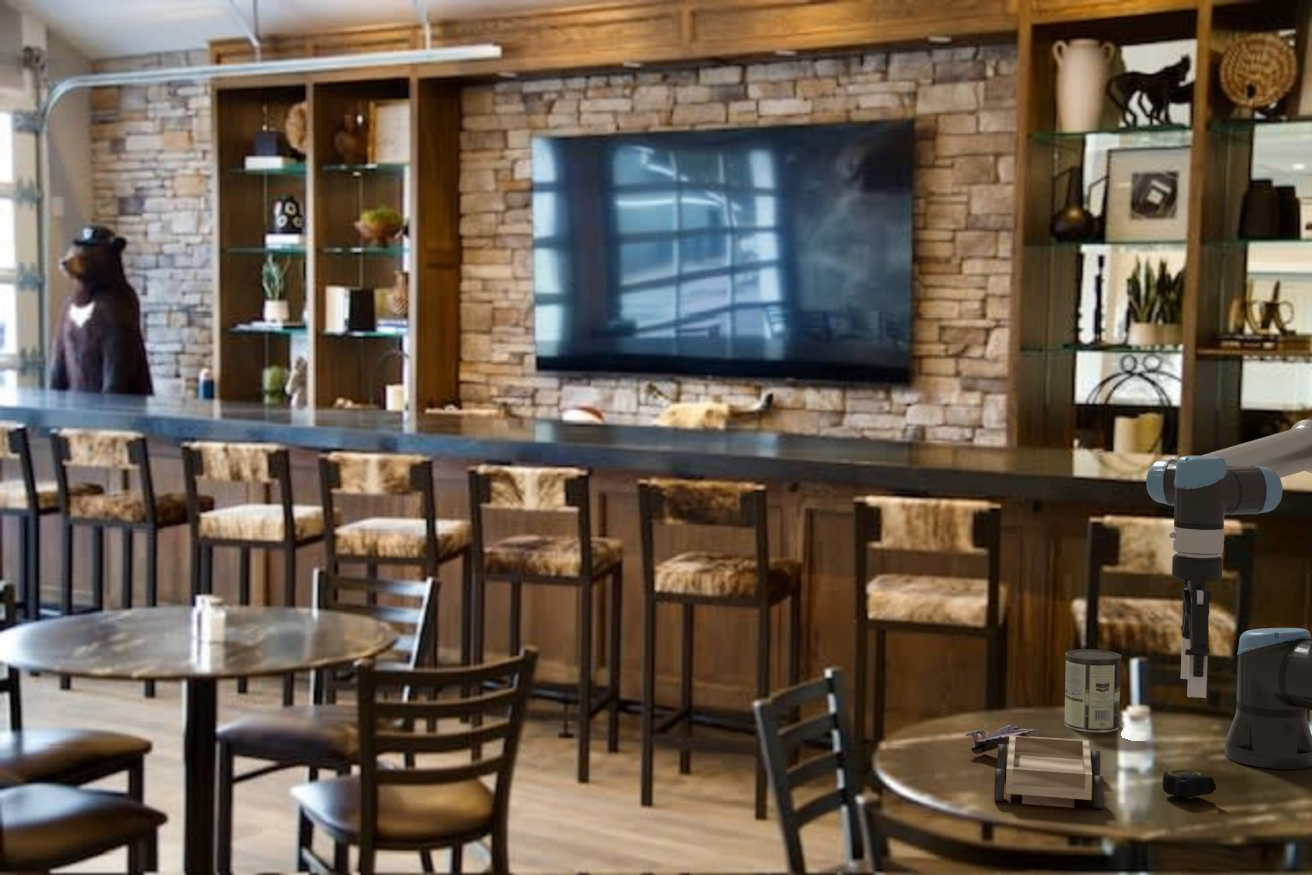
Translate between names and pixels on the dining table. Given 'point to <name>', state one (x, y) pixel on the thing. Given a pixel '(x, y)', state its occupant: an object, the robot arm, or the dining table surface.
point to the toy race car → (997, 738)
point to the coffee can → (1092, 690)
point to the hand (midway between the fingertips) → (1193, 687)
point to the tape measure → (1187, 783)
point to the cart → (1049, 771)
